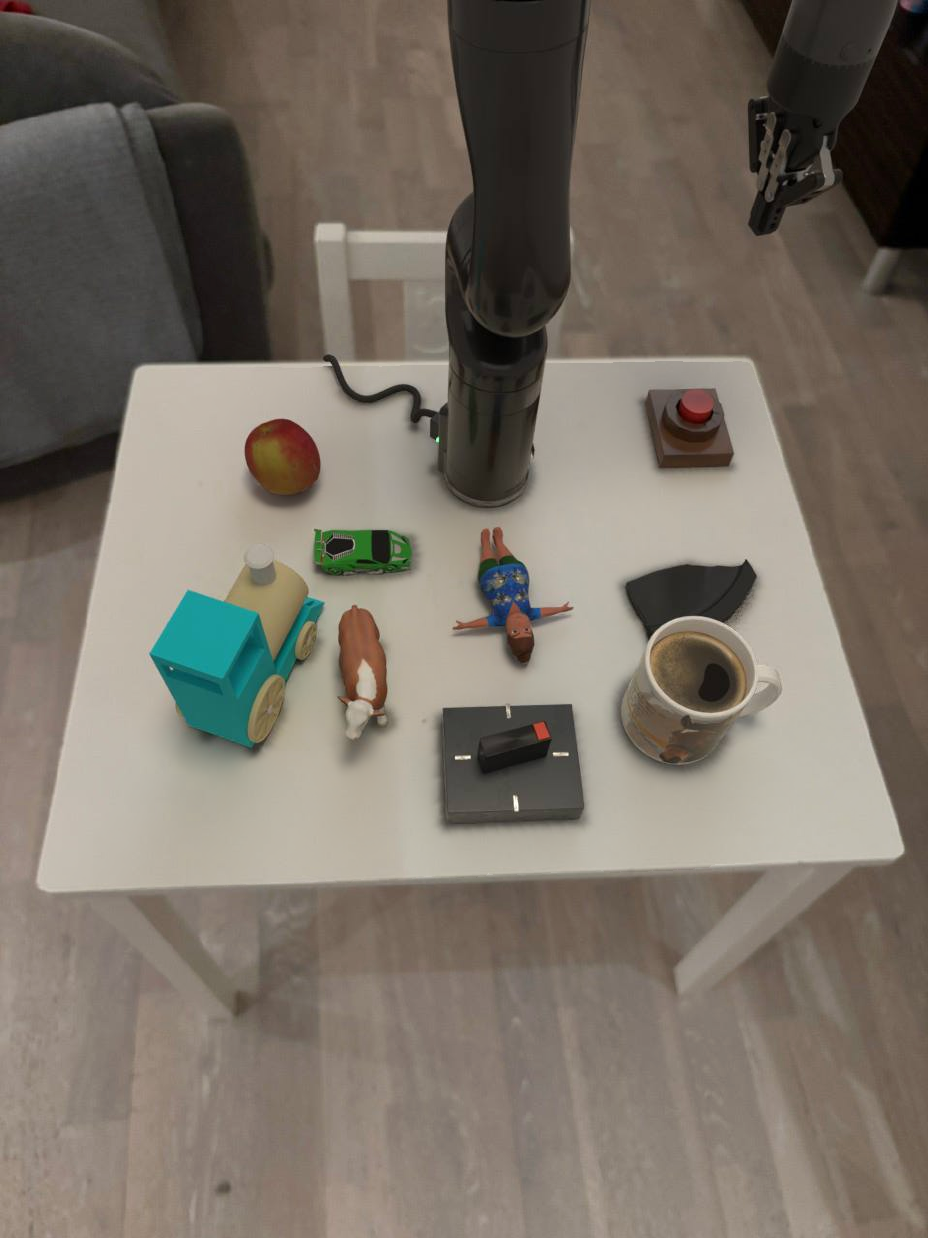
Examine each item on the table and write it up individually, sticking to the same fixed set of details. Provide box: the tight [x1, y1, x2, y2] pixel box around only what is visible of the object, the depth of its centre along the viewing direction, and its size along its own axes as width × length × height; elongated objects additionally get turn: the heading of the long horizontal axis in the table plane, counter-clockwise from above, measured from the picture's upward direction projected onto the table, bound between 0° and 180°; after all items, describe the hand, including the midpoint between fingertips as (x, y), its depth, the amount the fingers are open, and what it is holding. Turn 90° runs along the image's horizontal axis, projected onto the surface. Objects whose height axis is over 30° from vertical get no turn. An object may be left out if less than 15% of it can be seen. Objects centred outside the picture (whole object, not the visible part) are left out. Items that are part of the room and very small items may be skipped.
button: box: [678, 390, 714, 424], centre depth 101 cm, size 4×4×2 cm
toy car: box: [312, 528, 413, 576], centre depth 94 cm, size 10×5×2 cm, turn 94°
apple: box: [243, 418, 322, 496], centre depth 96 cm, size 8×8×8 cm
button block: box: [644, 387, 735, 469], centre depth 103 cm, size 10×8×4 cm
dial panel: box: [441, 703, 585, 824], centre depth 82 cm, size 12×10×3 cm
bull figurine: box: [337, 604, 389, 741], centre depth 83 cm, size 4×13×8 cm, turn 4°
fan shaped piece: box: [625, 558, 758, 636], centre depth 93 cm, size 8×14×2 cm, turn 108°
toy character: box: [452, 526, 575, 664], centre depth 90 cm, size 12×5×15 cm
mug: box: [620, 616, 783, 766], centre depth 82 cm, size 10×12×11 cm
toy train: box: [148, 543, 326, 748], centre depth 81 cm, size 8×17×15 cm, turn 161°
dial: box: [477, 721, 552, 774], centre depth 79 cm, size 6×2×4 cm, turn 107°
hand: (760, 229), depth 85 cm, fingers closed
